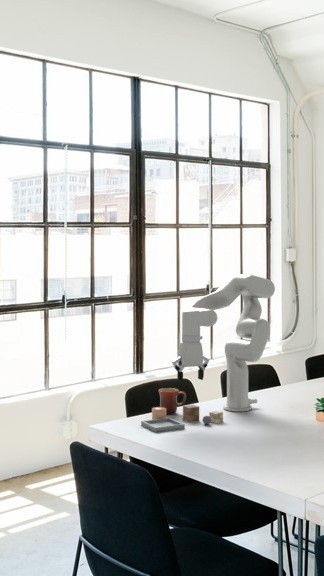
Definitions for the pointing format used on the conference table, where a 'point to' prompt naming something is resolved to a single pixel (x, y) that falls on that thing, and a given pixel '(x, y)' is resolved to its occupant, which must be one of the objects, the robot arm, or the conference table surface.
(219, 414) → the beech cube
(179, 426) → the tray
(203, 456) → the conference table surface
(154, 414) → the beige short cylinder
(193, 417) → the walnut block
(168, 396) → the mug
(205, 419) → the grey ball
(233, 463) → the conference table surface
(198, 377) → the robot arm
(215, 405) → the conference table surface
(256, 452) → the conference table surface
